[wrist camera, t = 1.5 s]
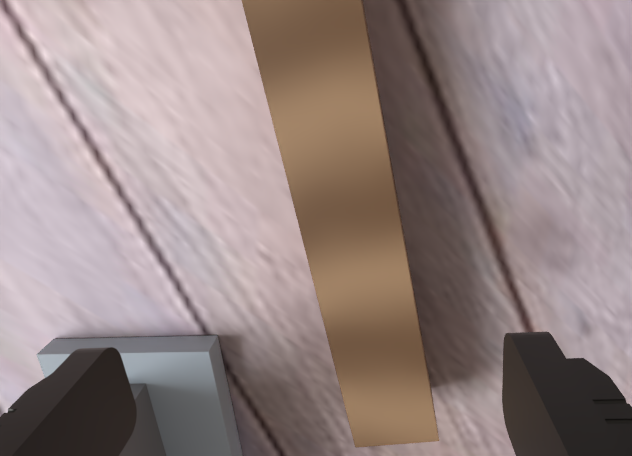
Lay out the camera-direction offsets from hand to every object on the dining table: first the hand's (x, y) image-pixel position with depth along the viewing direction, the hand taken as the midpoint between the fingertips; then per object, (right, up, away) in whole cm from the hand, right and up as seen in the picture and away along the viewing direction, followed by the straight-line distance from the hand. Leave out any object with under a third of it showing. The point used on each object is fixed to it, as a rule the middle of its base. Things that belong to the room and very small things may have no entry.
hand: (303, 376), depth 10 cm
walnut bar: (+2, +5, +13) cm, 14 cm away
